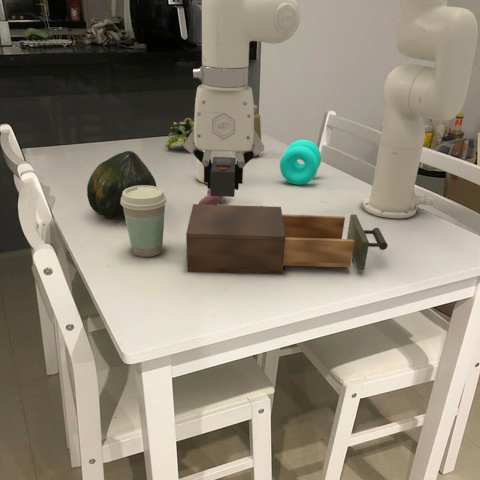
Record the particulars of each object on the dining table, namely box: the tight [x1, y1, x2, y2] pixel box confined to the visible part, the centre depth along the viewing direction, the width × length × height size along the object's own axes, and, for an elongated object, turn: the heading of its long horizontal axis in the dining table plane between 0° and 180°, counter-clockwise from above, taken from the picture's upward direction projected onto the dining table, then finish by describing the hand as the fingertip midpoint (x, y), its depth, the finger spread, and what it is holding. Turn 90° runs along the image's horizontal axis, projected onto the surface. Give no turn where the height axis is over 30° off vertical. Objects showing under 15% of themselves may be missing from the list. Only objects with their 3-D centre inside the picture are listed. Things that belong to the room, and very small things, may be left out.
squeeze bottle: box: [244, 104, 262, 158], centre depth 159 cm, size 8×8×18 cm
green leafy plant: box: [165, 117, 195, 154], centre depth 165 cm, size 11×11×12 cm
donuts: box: [279, 139, 322, 186], centre depth 142 cm, size 10×10×10 cm
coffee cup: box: [120, 185, 168, 258], centre depth 102 cm, size 8×8×12 cm
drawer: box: [282, 214, 389, 272], centre depth 103 cm, size 21×13×6 cm, turn 89°
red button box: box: [210, 157, 237, 198], centre depth 96 cm, size 4×9×5 cm, turn 0°
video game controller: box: [198, 189, 225, 205], centre depth 127 cm, size 10×5×7 cm, turn 168°
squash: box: [86, 150, 158, 219], centre depth 118 cm, size 14×15×15 cm
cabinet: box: [185, 203, 285, 275], centre depth 102 cm, size 18×15×8 cm
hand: (223, 185), depth 97 cm, fingers closed on red button box, 4 cm apart
